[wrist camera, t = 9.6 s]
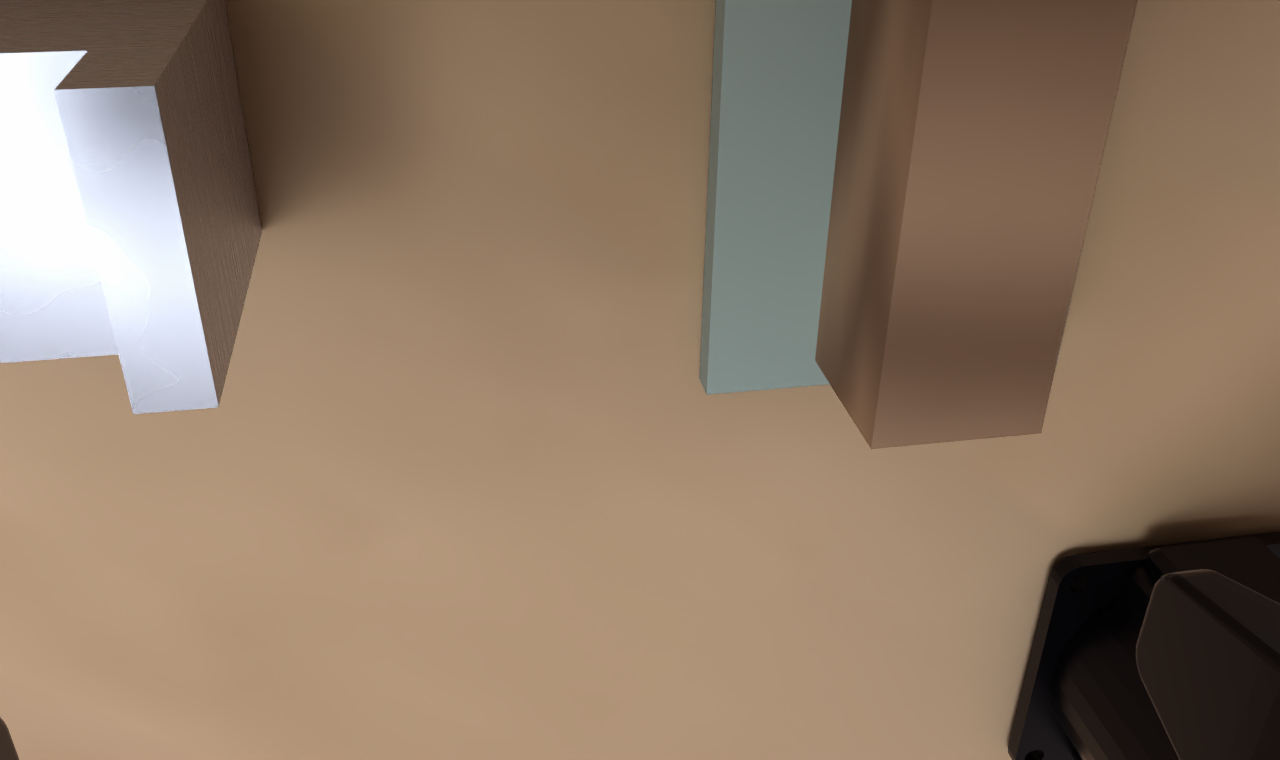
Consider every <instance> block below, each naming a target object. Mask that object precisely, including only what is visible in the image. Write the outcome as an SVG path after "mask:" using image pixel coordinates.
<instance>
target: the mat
mask: <svg viewBox="0 0 1280 760" xmlns="http://www.w3.org/2000/svg"><path fill="white" fill-rule="evenodd" d="M851 5H852V0H716V11H715V34H714V57H713V79H712V102H711V125H710V148H709V171H708V194H707V217H706V240H705V263H704V286H703V309H702V332H701V355H700V378H699V379H700V381H701V383H702V385H703V388H704V390H705V392H706V394H707V395H708V394H719V393H731V392H743V391H755V390H767V389H779V388H791V387H802V386H814V385H826V384H830V383H829V382H828V380H827V379H826V377H825V376H824V374H823V372H822V371H821V369H820V368H819V366H818V365H817V363H816V361H815V355H816V346H817V336H818V326H819V316H820V307H821V297H822V287H823V278H824V268H825V258H826V248H827V239H828V229H829V219H830V209H831V200H832V190H833V180H834V170H835V161H836V151H837V141H838V132H839V122H840V112H841V102H842V93H843V83H844V73H845V63H846V54H847V44H848V34H849V24H850V15H851ZM1071 296H1072V295H1071ZM1070 301H1071V300H1070ZM1069 305H1070V304H1069ZM1068 310H1069V309H1068ZM1067 314H1068V313H1067ZM1066 319H1067V318H1066ZM1065 323H1066V322H1065ZM1064 328H1065V327H1064ZM1063 332H1064V331H1063ZM1062 337H1063V336H1062ZM1061 341H1062V340H1061ZM1060 346H1061V345H1060ZM1059 350H1060V349H1059ZM1058 355H1059V354H1058ZM1057 359H1058V358H1057ZM1056 364H1057V363H1056Z"/></svg>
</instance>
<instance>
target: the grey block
mask: <svg viewBox="0 0 1280 760" xmlns="http://www.w3.org/2000/svg"><path fill="white" fill-rule="evenodd" d="M261 234H262V227H261V221H260V214H259V208H258V202H257V196H256V190H255V184H254V178H253V172H252V165H251V159H250V153H249V147H248V141H247V135H246V129H245V123H244V117H243V110H242V104H241V98H240V92H239V86H238V80H237V74H236V68H235V61H234V55H233V49H232V43H231V37H230V31H229V25H228V19H227V12H226V6H225V0H0V363H6V362H20V361H34V360H47V359H61V358H75V357H89V356H103V355H116V354H119V358H120V362H121V367H122V371H123V375H124V379H125V383H126V387H127V391H128V395H129V399H130V403H131V407H132V411H133V414H141V413H153V412H166V411H178V410H190V409H203V408H215V407H219V403H220V399H221V395H222V391H223V387H224V383H225V379H226V375H227V371H228V367H229V363H230V359H231V355H232V351H233V347H234V343H235V339H236V335H237V331H238V327H239V323H240V318H241V314H242V310H243V306H244V302H245V298H246V294H247V290H248V286H249V282H250V278H251V274H252V270H253V266H254V262H255V258H256V254H257V250H258V246H259V242H260V238H261Z"/></svg>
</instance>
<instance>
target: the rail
mask: <svg viewBox="0 0 1280 760" xmlns="http://www.w3.org/2000/svg"><path fill="white" fill-rule="evenodd" d="M1136 4H1137V0H852V5H851V15H850V24H849V34H848V44H847V54H846V63H845V73H844V83H843V93H842V102H841V112H840V122H839V132H838V141H837V151H836V161H835V170H834V180H833V190H832V200H831V209H830V219H829V229H828V239H827V248H826V258H825V268H824V278H823V287H822V297H821V307H820V316H819V326H818V336H817V346H816V355H815V361H816V363H817V365H818V366H819V368H820V369H821V371H822V372H823V374H824V376H825V377H826V379H827V380H828V382H829V383H830V385H831V387H832V388H833V390H834V391H835V393H836V394H837V396H838V398H839V399H840V401H841V402H842V404H843V405H844V407H845V409H846V410H847V412H848V413H849V415H850V416H851V418H852V420H853V421H854V423H855V424H856V426H857V427H858V429H859V431H860V432H861V434H862V435H863V437H864V438H865V440H866V442H867V443H868V445H869V446H870V448H871V449H875V448H886V447H897V446H908V445H919V444H929V443H940V442H951V441H962V440H973V439H983V438H994V437H1005V436H1016V435H1027V434H1037V433H1041V430H1042V426H1043V421H1044V417H1045V412H1046V408H1047V403H1048V399H1049V394H1050V390H1051V385H1052V381H1053V376H1054V372H1055V367H1056V363H1057V358H1058V354H1059V349H1060V345H1061V340H1062V336H1063V331H1064V327H1065V322H1066V318H1067V313H1068V309H1069V304H1070V300H1071V295H1072V291H1073V287H1074V282H1075V278H1076V273H1077V269H1078V264H1079V260H1080V255H1081V251H1082V246H1083V242H1084V237H1085V233H1086V228H1087V224H1088V219H1089V215H1090V210H1091V206H1092V201H1093V197H1094V192H1095V188H1096V183H1097V179H1098V174H1099V170H1100V165H1101V161H1102V156H1103V152H1104V147H1105V143H1106V138H1107V134H1108V129H1109V125H1110V120H1111V116H1112V111H1113V107H1114V102H1115V98H1116V94H1117V89H1118V85H1119V80H1120V76H1121V71H1122V67H1123V62H1124V58H1125V53H1126V49H1127V44H1128V40H1129V35H1130V31H1131V26H1132V22H1133V17H1134V13H1135V8H1136Z"/></svg>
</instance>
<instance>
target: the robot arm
mask: <svg viewBox="0 0 1280 760" xmlns="http://www.w3.org/2000/svg"><path fill="white" fill-rule="evenodd" d="M1076 576H1078V577H1076ZM1075 577H1076V578H1075ZM1074 578H1075V579H1074ZM1072 579H1074V580H1072ZM1008 753H1009V755H1010V757H1011V758H1012V760H1280V532H1273V533H1264V534H1256V535H1247V536H1238V537H1229V538H1220V539H1211V540H1202V541H1194V542H1185V543H1176V544H1167V545H1158V546H1149V547H1141V548H1132V549H1123V550H1114V551H1105V552H1096V553H1088V554H1079V555H1073V556H1069V557H1066V558H1064V559H1063V560H1061V561H1059V562H1058V563H1057V564H1056V565H1055V567H1054V568H1053V569H1052V572H1051V574H1050V577H1049V581H1048V585H1047V589H1046V593H1045V597H1044V601H1043V606H1042V610H1041V614H1040V618H1039V622H1038V626H1037V630H1036V634H1035V638H1034V643H1033V647H1032V651H1031V655H1030V659H1029V663H1028V667H1027V671H1026V675H1025V680H1024V684H1023V688H1022V692H1021V696H1020V700H1019V704H1018V708H1017V712H1016V717H1015V721H1014V725H1013V729H1012V733H1011V737H1010V741H1009V745H1008ZM0 760H19V758H18V755H17V752H16V749H15V747H14V744H13V741H12V739H11V736H10V733H9V730H8V728H7V726H6V724H5V722H4V721H3V720H2V719H1V718H0Z"/></svg>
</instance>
